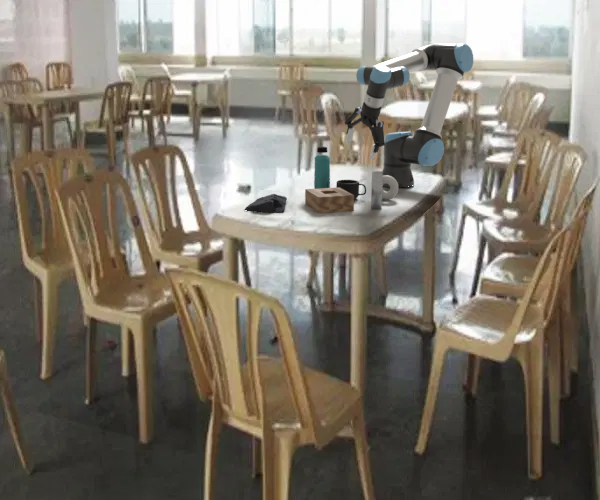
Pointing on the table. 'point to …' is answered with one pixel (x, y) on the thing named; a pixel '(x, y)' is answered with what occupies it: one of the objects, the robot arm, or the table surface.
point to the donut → (393, 187)
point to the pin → (376, 190)
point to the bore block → (329, 200)
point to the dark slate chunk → (268, 204)
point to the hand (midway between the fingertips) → (359, 150)
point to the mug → (350, 187)
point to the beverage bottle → (322, 169)
